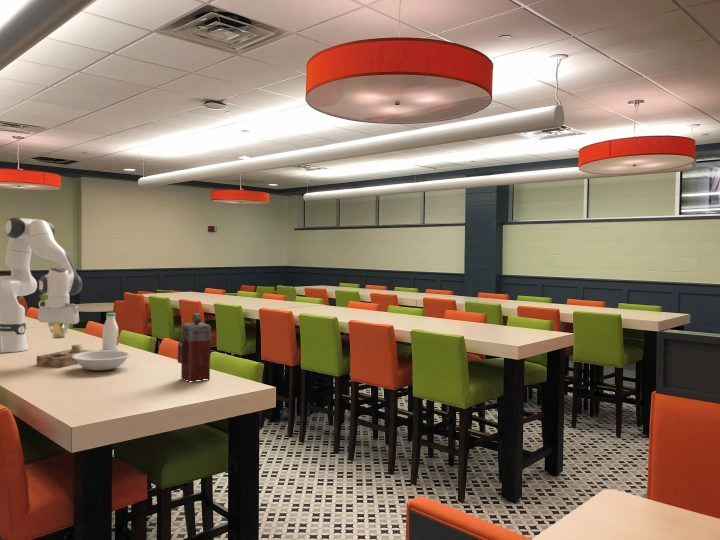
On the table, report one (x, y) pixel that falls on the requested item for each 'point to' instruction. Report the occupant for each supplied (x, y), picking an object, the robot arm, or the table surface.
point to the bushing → (57, 331)
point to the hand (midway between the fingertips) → (58, 332)
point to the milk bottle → (110, 333)
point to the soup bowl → (101, 359)
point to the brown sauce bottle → (195, 350)
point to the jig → (61, 357)
